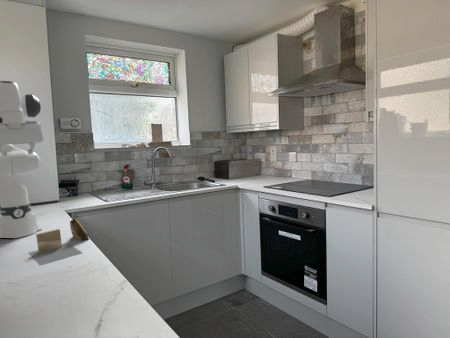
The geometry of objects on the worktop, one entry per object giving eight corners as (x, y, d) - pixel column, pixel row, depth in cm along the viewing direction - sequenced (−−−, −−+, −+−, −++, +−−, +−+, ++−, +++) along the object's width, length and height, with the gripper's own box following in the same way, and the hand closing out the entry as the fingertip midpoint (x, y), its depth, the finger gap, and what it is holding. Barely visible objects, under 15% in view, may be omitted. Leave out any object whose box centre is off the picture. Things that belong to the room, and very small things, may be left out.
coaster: (38, 251, 122) (36, 234, 122) (60, 245, 128) (58, 228, 127) (39, 252, 121) (36, 234, 120) (62, 246, 126) (59, 229, 126)
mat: (28, 253, 122) (28, 252, 122) (67, 243, 131) (67, 242, 131) (40, 266, 108) (40, 265, 108) (82, 254, 117) (82, 252, 117)
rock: (66, 232, 140) (60, 235, 130) (77, 215, 141) (72, 217, 132) (88, 244, 142) (84, 248, 132) (99, 227, 143) (96, 230, 134)
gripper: (36, 122, 138) (42, 153, 138) (-21, 122, 122) (-15, 158, 122) (42, 119, 134) (48, 152, 134) (-16, 119, 118) (-10, 156, 118)
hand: (18, 155), depth 128 cm, fingers open, 8 cm apart
